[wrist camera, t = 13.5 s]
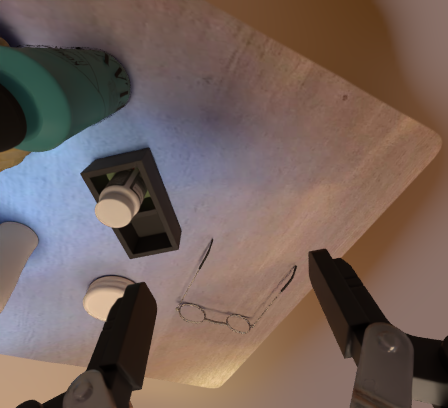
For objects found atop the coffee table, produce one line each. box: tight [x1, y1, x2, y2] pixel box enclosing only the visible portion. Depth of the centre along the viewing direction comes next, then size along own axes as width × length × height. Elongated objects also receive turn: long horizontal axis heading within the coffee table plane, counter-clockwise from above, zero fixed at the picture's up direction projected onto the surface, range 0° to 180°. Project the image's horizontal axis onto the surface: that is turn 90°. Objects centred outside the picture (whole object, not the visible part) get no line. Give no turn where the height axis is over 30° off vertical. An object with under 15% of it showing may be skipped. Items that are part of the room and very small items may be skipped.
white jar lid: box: [83, 276, 135, 321], centre depth 46 cm, size 10×10×4 cm
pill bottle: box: [95, 168, 147, 228], centre depth 30 cm, size 5×5×8 cm
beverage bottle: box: [0, 44, 131, 152], centre depth 20 cm, size 6×7×20 cm
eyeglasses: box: [176, 239, 297, 333], centre depth 47 cm, size 18×19×4 cm
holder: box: [80, 148, 181, 259], centre depth 35 cm, size 8×15×5 cm, turn 12°
